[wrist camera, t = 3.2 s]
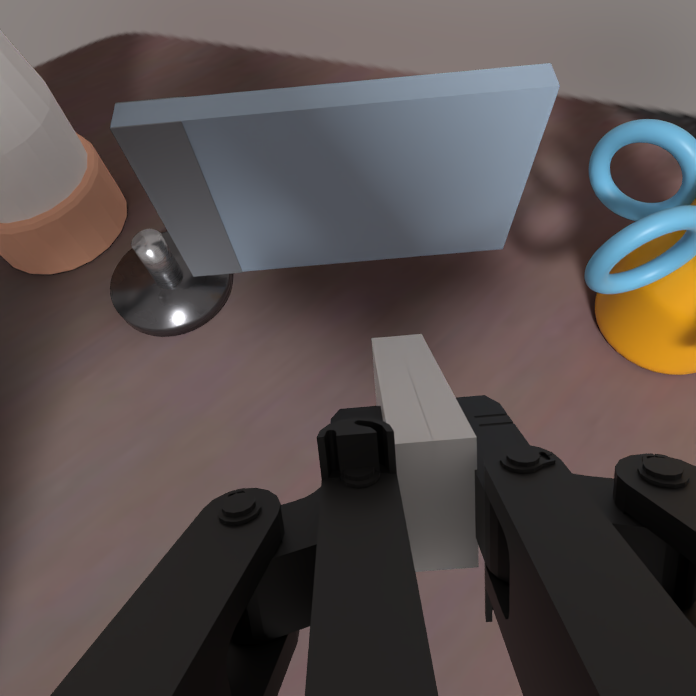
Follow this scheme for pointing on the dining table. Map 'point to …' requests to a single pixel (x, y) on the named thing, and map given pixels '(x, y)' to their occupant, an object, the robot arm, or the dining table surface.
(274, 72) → the dining table surface
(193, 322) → the shiny grey rounded piece
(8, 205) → the pepper shaker
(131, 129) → the light blue rectangular panel
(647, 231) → the tube with blue loops
